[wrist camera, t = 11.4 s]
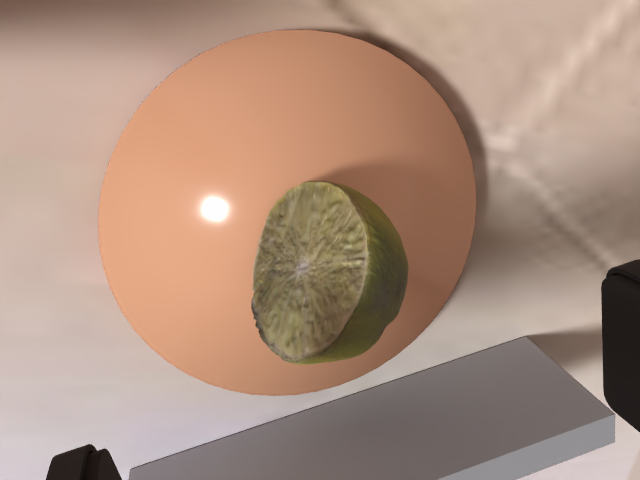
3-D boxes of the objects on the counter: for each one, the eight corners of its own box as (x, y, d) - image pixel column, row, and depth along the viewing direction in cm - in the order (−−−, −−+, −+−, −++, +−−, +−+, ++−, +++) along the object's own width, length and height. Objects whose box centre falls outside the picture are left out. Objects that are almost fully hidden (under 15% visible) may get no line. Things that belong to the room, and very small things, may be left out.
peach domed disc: (477, 322, 21) (490, 334, 21) (172, 421, 20) (172, 440, 19) (441, -10, 17) (456, -13, 16) (37, 83, 15) (28, 87, 14)
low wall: (527, 360, 23) (615, 442, 18) (140, 493, 20) (130, 625, 16) (525, 336, 22) (615, 414, 18) (130, 469, 20) (115, 598, 15)
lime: (255, 325, 18) (281, 424, 14) (218, 186, 16) (234, 247, 12) (382, 289, 19) (448, 371, 14) (361, 151, 17) (429, 195, 12)
